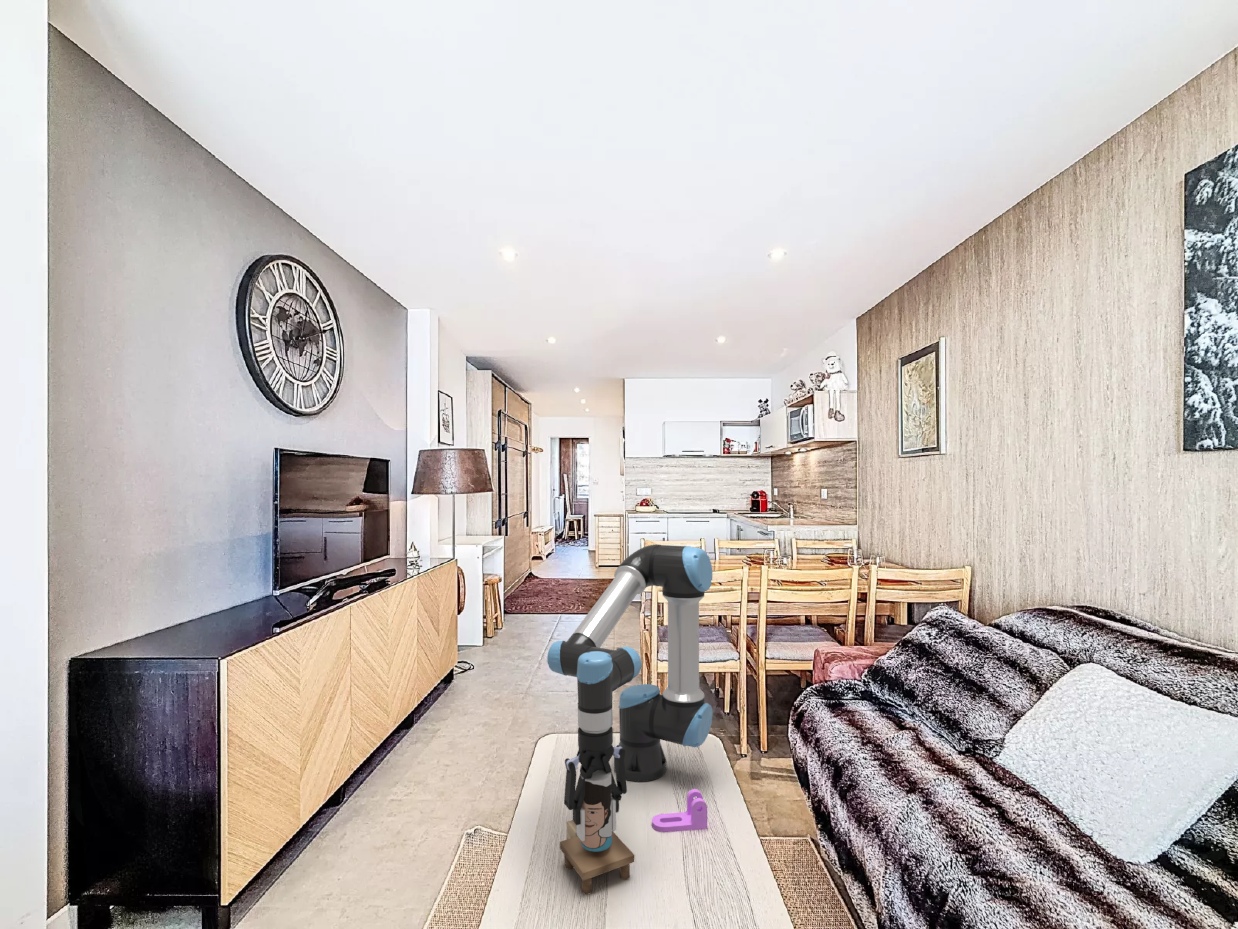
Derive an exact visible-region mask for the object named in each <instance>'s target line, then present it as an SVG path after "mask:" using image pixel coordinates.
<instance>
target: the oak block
mask: <svg viewBox="0 0 1238 929" xmlns="http://www.w3.org/2000/svg"><path fill="white" fill-rule="evenodd" d="M576 836H577V825H576V824H575V823H574V822H573V819H570V820H568V821H566V840H567V839H570V838H573V837H576Z"/></svg>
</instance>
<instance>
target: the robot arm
mask: <svg viewBox="0 0 1238 929" xmlns="http://www.w3.org/2000/svg"><path fill="white" fill-rule="evenodd" d="M712 581H713V566H712V562H711V559H710V556H709V555H708V552H706V550H704V549H702V548H699V547H694V546H690V545H688V546H687V545H669V544H650V545H646V546H644V547H641V548H639V549H637V550H635V551H634V552H633V553H631V554H630V555H629V556H627V557H626V558H625V559H624V560H623V561H622V562H621V563H619V565H618V567H617V568H616V569H615V571H614V578H613V580H612V581H611V582H610V584H609V585H608V586H607V587H606V589H605V590H604V591H603V593H602V594H601V595H600V596H599V598H598V599H597V601H596V602H595V604H594V605H593V606H592V608H591V609H590V610H589V611H588V613H587V614H586V615H585V616H584V618H583V620H582V621H581V622H580V623H579V625H578V626H577V628H576V629H575V630H574V632H573V633H572V635H571V636H570V637H569V638H568V639H567V641H566V640H558V641H557V640H556V641H555V642H553V643H552V644H551V646H550V647H549V649H548V652H547V657H546V658H547V659H546V660H547V664H548V668H549V669H550V670H551V671H552V672H554V673H556V674H559V675H562V676H566V677H567V676H568V677H575V678H576V679H577V680H576V681H577V726H578V728H577V746H578V750H577V753H576V756H573V758H566V759H565V760H564V764H565V769H566V773H565V774H566V775H565V786H564V787H565V788H564V796H563V804H564V806H566V808H567V809H568V810H569V811H572V820H573V822H574V823H575V824H576V825H577V836H578V837H579V838H580V840H581V841H585V809H584V808H583V807H582V805H583V801H584V798H585V779H587V778H591V777H592V774H593V772H596V771H597V770H604V771H605V772H606V773H609V772H611V790H612V831H613V832H615V831H616V830H617V813H619V811H620V801H621V800H622V795H625V794H626V793H627V792H628V785H627V781H631V782H638V783H639V782H650V781H655V780H657V779H659V778H662V777H663V776H664V775H665V774H666V772H667V759H666V755H665V753H664V749H663V747H662V744H661V741H666V742H669V743H672V744H675V745H676V744H677V745H681V746H683V747H692V748H699V747H701V746H702V745H703V744H704V743H705V741H706V740H707V738H708V736H709V734H710V731H711V727H712V722H713V715H714V713H713V712H714V711H713V707H712V705H711V704H709V703H708V702H706V700H705V693H704V691H702V689H701V688H700V602H701V600H702V599H703V598H704V597H705V593H706V592H707V591H708V590H710V588H711V587H712V584H713V583H712ZM653 586H654V587H661V588H662V592H661V593H662V597H663V598H664V599H665V600H666V602H667V687H666V688H665V689H664V690H663V691H662V694H661V690H660V687H659V686H658V685H655V684H649V683H645V684H644V683H643V684H635V685H631V686H629V687H626V688H625V689H624V690H622V691H621V692H620V695H619V701H618V702H619V704H618V710H619V711H618V716H619V717H618V718H619V742H618V745H616V746H613V742H614V740H613V739H614V736H613V735H614V730H613V729H614V728H613V724H614V722H613V721H614V720H613V717H614V716H613V692H615V691H616V690H617V689H619V688H621V687H622V686H624V685H626V684H628V683H630V682H631V681H633V680H634V679H635V678H636V677H637V676H638V675H639V674H640V672H641V670H642V659H641V656H640V655H639V652H637V650H635V649H634V648H633V647H631V646H623V647H618V648H616V649H610V648H603V647H602V646H603V644H604V643H605V641H606V640H607V638H608V637H609V635H610V634H611V633H612V632H613V630H614V628H615V627H616V626H617V624H618V622H619V621H620V619H621V618H622V616H623V615H624V614H625V612H626V611H627V610H628V608H629V606H630V605H631V604H632V602H633V601H634V599H635V598H636V597H637V595H640V594H642V593H643V592H644V591H645V590H646V588H648V587H653ZM612 757H613V758H614V759H613V771H614V773H615V778H614V774H613V771H612V768H611V767H612V766H611V764H610V760H611V759H612ZM579 763H580V765H581V766H580V769H579V777H578V779H577V770H578V764H579ZM580 775H581V776H582V777H583V778H584V779H582V778H581V776H580Z"/></svg>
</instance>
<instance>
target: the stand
mask: <svg viewBox="0 0 1238 929" xmlns="http://www.w3.org/2000/svg"><path fill="white" fill-rule="evenodd" d="M559 849H560V852H562V854H563V856H564V861H563V862H564V863H563V864H564V868H565V869H567V870H572V869H574V870H575V872H576V873H577V874H578V875H579V877H580V879H581V892H582V894H584V895H590V894H592V892H593V886H592V883H593V881H592V878H594V877H597V876H600V875H603V874H605V873H609V872H610V871H613V870H616V869H620V870H619V872H620V873H619V875H620V879H621V880H629V879H630V878H631V877H630V876H631V875H630V873H631V872H630V871H631V870H630V868H631V866H630V865H631V864H633V863H635V853H634V852H633V851H632V850H631V849H630V848H629V847H628V846H627V845H626V844H625V843H624V842H623V841H622V840H621V838H619V837H618V835H617V833H615V831H612V844H611V846H610V847H609V848H607V849H606V850H603V851H597V852H594V851H589V850H586V849H585V848H583V847H582V845H581V840H580V838H579V837H578V836H576V837H573V838H570V839H567V838H566V839H565V840H562V841H559Z"/></svg>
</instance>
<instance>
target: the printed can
mask: <svg viewBox="0 0 1238 929" xmlns="http://www.w3.org/2000/svg"><path fill="white" fill-rule="evenodd" d="M579 776H581V775H580V774H579ZM581 778H582V779H584V778H583V777H582V776H581ZM582 807H583V808H584V809H585V841H581V845H582V847H583V848H585V849H586V850H589V851H594V852H597V851H603V850H606V849H607V848H609V847H610V846H611V844H612V790H611V772H609V773H606V772H605V771H604V770H597V771H596V772H593V774H592V777H591V778H587V779H585V798H584V801H583V805H582Z"/></svg>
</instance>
